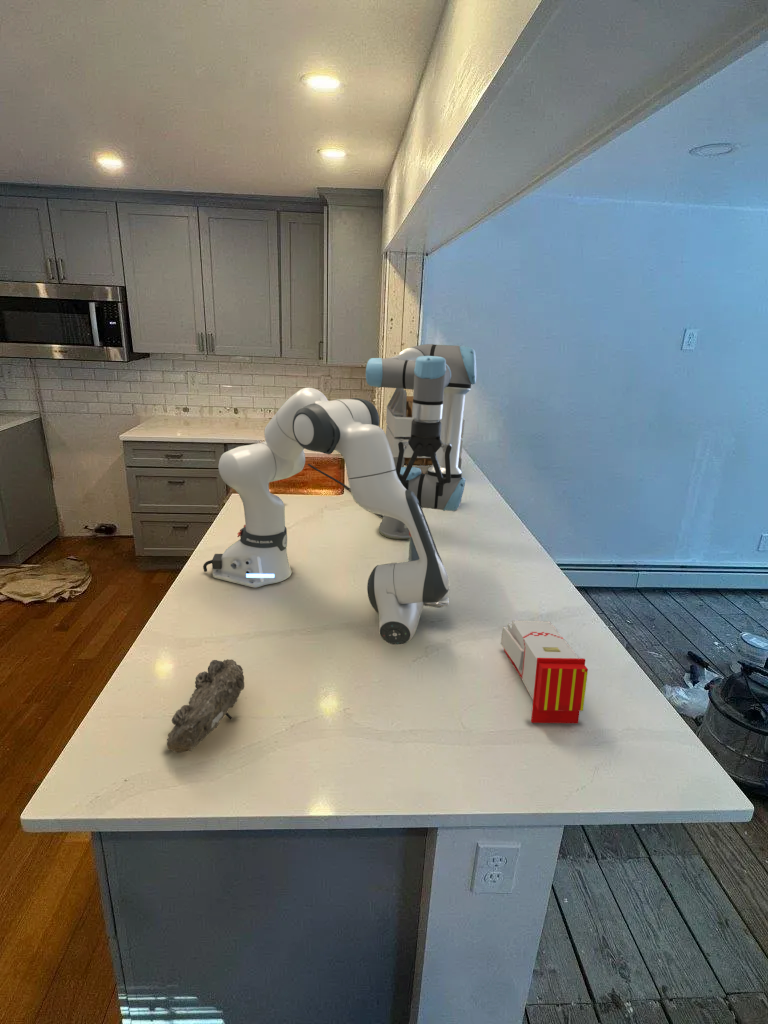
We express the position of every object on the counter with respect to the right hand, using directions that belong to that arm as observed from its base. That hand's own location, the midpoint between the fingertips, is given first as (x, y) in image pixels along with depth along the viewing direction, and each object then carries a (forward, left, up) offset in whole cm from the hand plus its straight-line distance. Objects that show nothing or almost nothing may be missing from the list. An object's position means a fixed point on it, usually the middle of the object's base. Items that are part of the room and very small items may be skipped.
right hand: (420, 505), depth 150 cm
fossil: (+14, -66, -26) cm, 72 cm away
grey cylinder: (0, 0, -26) cm, 26 cm away
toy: (+45, -7, -26) cm, 52 cm away
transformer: (-88, +87, -26) cm, 126 cm away
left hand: (+2, -2, -20) cm, 20 cm away
